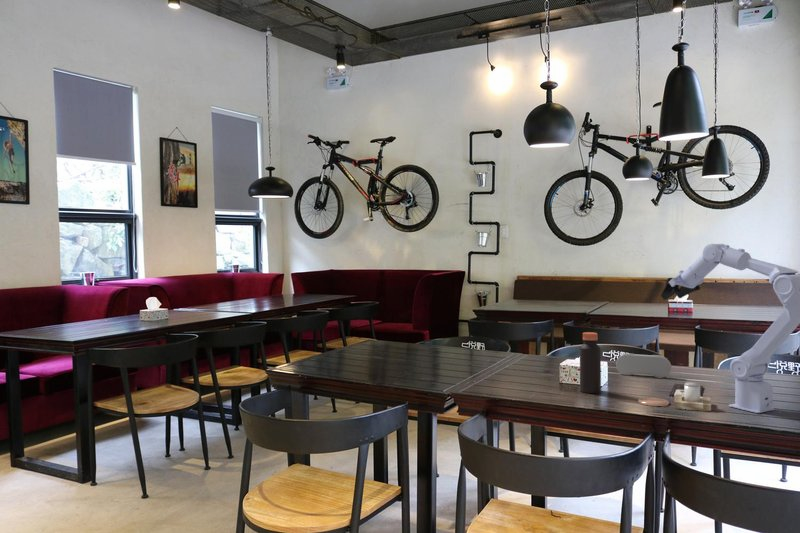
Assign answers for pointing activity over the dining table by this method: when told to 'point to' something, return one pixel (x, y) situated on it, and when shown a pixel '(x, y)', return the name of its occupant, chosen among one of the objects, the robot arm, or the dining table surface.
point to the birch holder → (692, 403)
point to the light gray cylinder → (691, 392)
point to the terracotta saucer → (653, 401)
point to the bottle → (590, 364)
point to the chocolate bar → (680, 390)
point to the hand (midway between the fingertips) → (670, 296)
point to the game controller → (643, 365)
